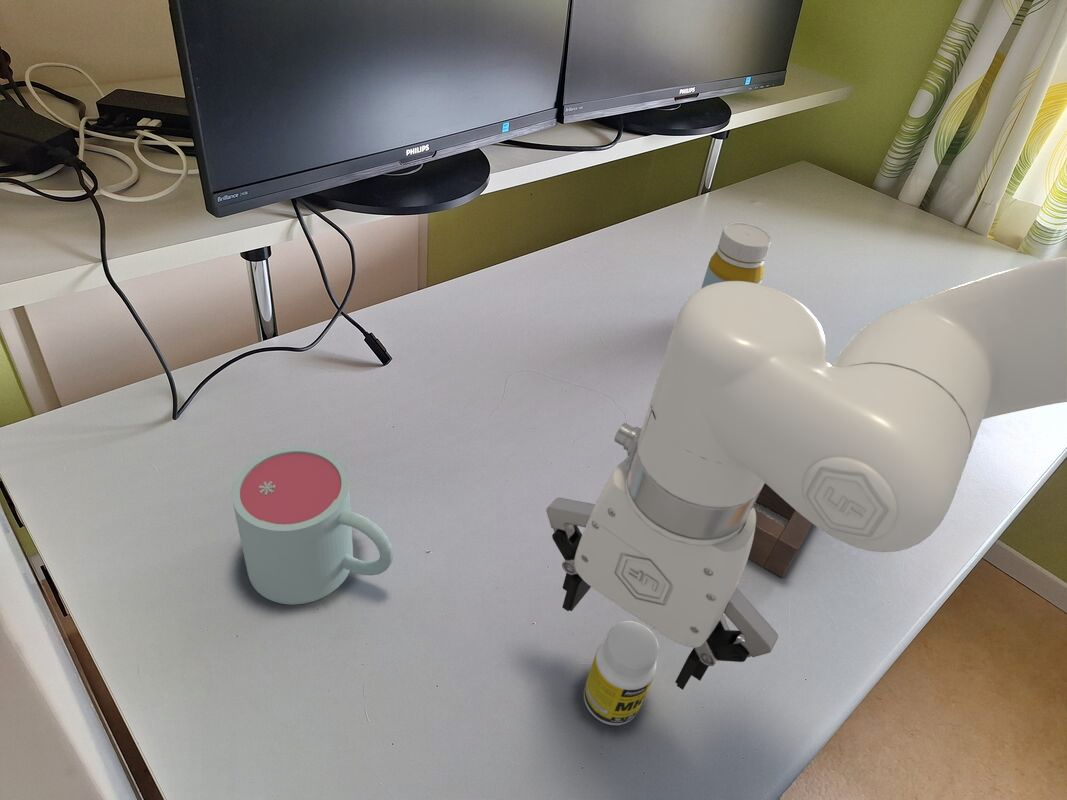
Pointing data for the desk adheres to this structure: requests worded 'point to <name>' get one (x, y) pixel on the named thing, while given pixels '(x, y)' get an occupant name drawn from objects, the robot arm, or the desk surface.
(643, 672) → the supplement bottle
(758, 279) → the bottle
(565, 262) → the desk surface
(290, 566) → the mug
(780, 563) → the holder
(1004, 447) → the desk surface
